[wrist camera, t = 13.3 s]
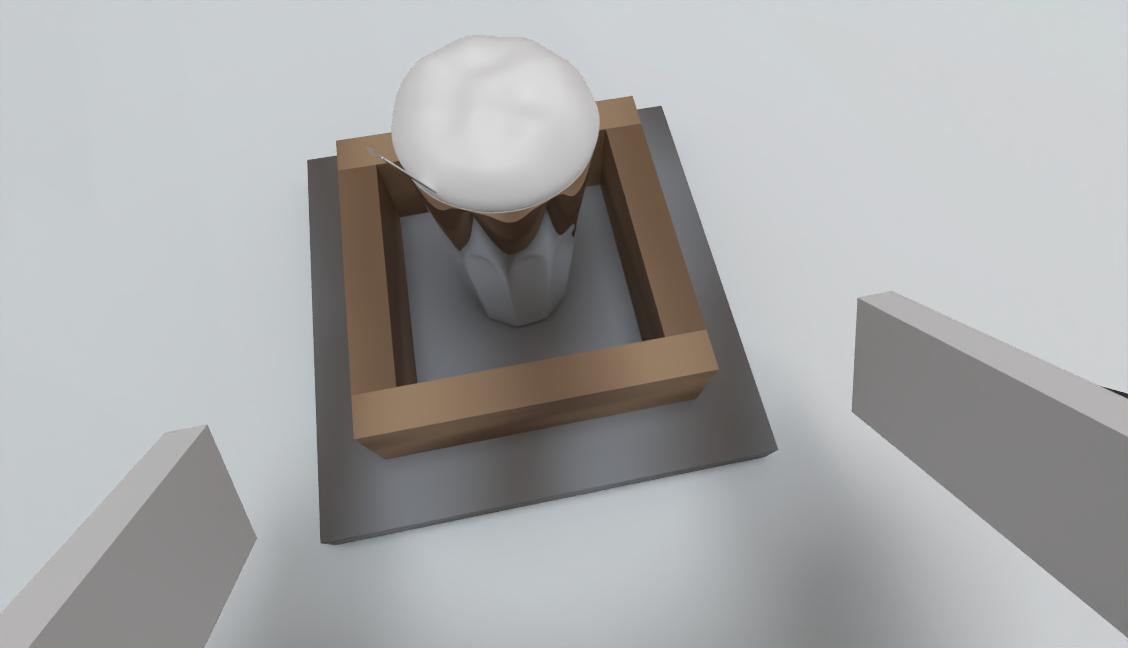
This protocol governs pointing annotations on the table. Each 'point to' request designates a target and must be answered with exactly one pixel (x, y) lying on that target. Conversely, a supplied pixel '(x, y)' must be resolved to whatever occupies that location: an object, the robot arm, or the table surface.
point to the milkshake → (500, 165)
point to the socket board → (518, 347)
